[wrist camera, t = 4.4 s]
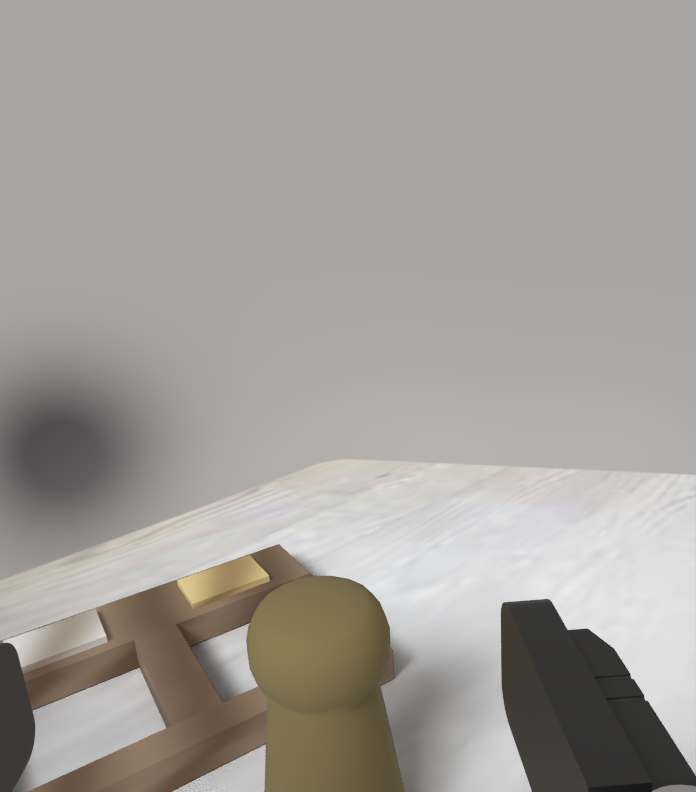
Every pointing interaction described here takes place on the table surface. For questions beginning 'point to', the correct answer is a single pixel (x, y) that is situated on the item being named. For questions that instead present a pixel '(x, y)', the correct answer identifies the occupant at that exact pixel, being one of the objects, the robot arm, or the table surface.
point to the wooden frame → (162, 672)
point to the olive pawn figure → (324, 687)
